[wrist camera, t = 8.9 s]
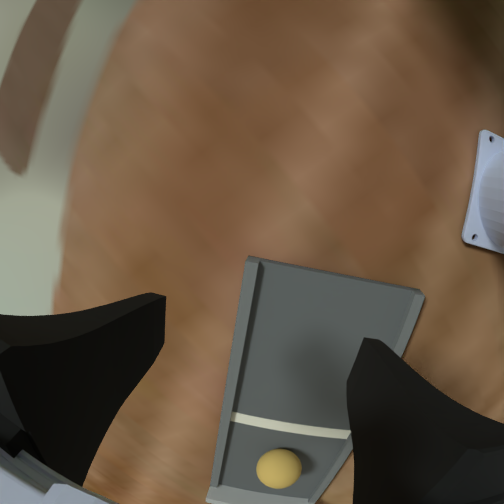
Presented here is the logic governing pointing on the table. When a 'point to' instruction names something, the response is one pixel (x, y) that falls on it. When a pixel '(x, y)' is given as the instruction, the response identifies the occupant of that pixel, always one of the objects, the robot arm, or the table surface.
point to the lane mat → (298, 374)
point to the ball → (279, 468)
